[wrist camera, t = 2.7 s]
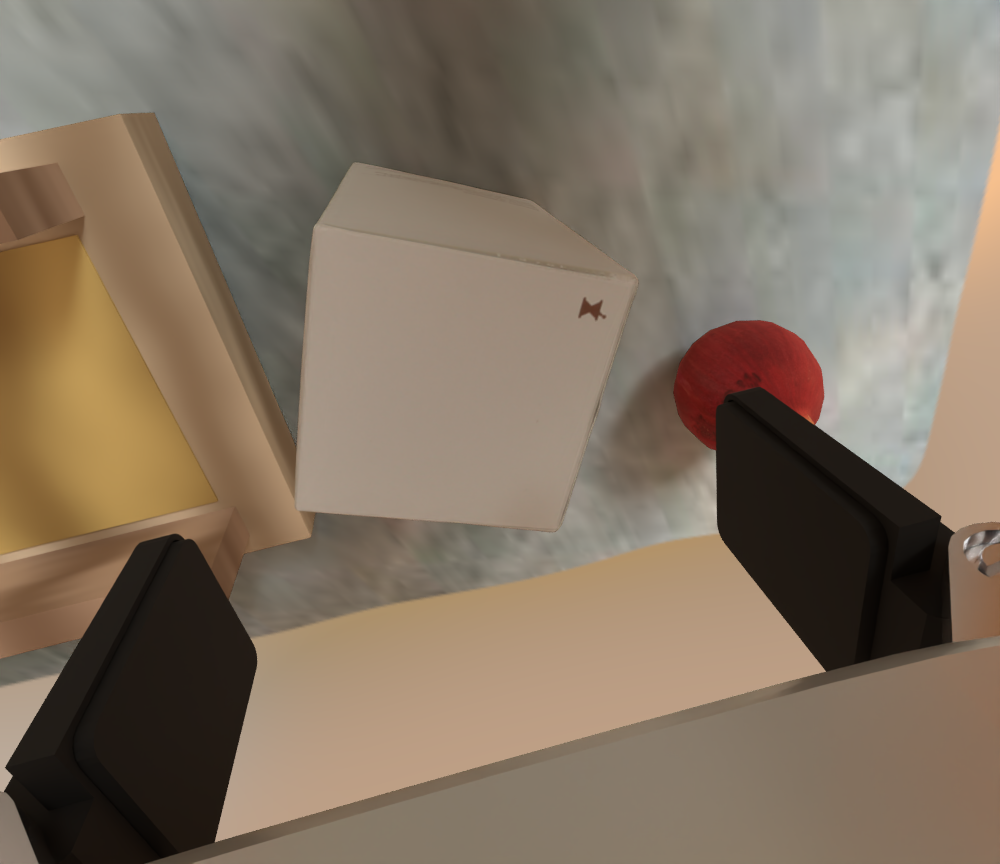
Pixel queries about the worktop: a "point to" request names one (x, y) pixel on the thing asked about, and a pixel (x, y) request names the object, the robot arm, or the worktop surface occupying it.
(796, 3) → the worktop surface
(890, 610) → the robot arm
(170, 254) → the wooden tray
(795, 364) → the onion
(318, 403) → the supplement box
